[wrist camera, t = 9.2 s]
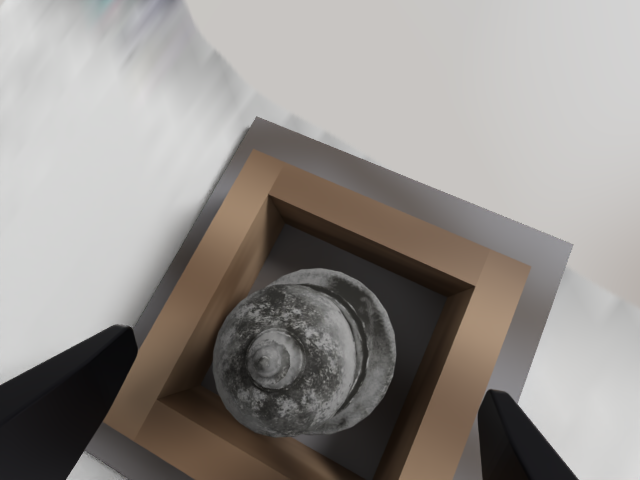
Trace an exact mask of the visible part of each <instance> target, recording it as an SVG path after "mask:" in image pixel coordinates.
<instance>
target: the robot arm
mask: <svg viewBox="0 0 640 480" xmlns="http://www.w3.org/2000/svg"><path fill="white" fill-rule="evenodd" d="M137 354H138V346H137V343H136V339H135V335H134V331H133V329H132V328H131V327H129V326H125V325H118V324H117V325H113V326H111V327H109V328H107V329H105V330H103V331H101V332H100V333H98V334H96V335H94V336H92V337H90V338H88V339H86V340H84V341H83V342H81V343H79V344H77V345H75V346H73V347H71V348H69V349H67V350H66V351H64V352H62V353H60V354H58V355H56V356H54V357H52V358H51V359H49V360H47V361H45V362H43V363H41V364H39V365H37V366H35V367H34V368H32V369H30V370H28V371H26V372H24V373H22V374H20V375H18V376H17V377H15V378H13V379H11V380H9V381H7V382H5V383H3V384H1V385H0V480H66V479H67V477H68V475H69V474H70V472H71V471H72V469H73V468H74V466H75V464H76V463H77V461H78V460H79V458H80V457H81V455H82V453H83V452H84V450H85V449H86V447H87V445H88V444H89V442H90V441H91V439H92V438H93V436H94V434H95V433H96V431H97V430H98V428H99V427H100V425H101V423H102V422H103V420H104V419H105V417H106V415H107V414H108V412H109V410H110V408H111V406H112V405H113V403H114V401H115V399H116V397H117V395H118V393H119V391H120V389H121V387H122V385H123V383H124V381H125V379H126V377H127V375H128V373H129V371H130V369H131V367H132V365H133V363H134V361H135V359H136V357H137ZM477 420H478V433H479V444H480V456H481V468H482V479H483V480H579V479H578V478H577V477H576V476H575V475H574V473H573V472H572V471H571V470H570V468H569V467H568V466H567V465H566V463H565V462H564V461H563V460H562V458H561V457H560V456H559V455H558V454H557V452H556V451H555V450H554V449H553V447H552V446H551V445H550V444H549V442H548V441H547V440H546V439H545V437H544V436H543V435H542V434H541V433H540V431H539V430H538V429H537V428H536V426H535V425H534V424H533V423H532V421H531V420H530V419H529V418H528V417H527V415H526V414H525V413H524V412H523V410H522V409H521V408H520V407H519V405H518V404H517V403H516V402H515V400H514V399H513V398H512V397H511V396H510V394H508V393H507V392H505V391H500V390H495V389H489V390H488V391H487V392H486V394H485V396H484V398H483V401H482V403H481V405H480V408H479V410H478V416H477Z"/></svg>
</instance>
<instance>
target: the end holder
mask: <svg viewBox="0 0 640 480" xmlns="http://www.w3.org/2000/svg"><path fill="white" fill-rule="evenodd" d="M572 247H573V244H571V243H568V242H566V241H563V240H561V239H558V238H556V237H554V236H551V235H549V234H546V233H544V232H541V231H539V230H536V229H534V228H531V227H529V226H527V225H524V224H522V223H519V222H516V221H514V220H511V219H509V218H507V217H504V216H502V215H499V214H497V213H494V212H492V211H489V210H487V209H484V208H482V207H479V206H477V205H475V204H472V203H470V202H467V201H465V200H462V199H460V198H457V197H455V196H452V195H450V194H447V193H445V192H442V191H440V190H437V189H435V188H432V187H430V186H427V185H425V184H422V183H420V182H418V181H415V180H413V179H410V178H408V177H405V176H403V175H400V174H398V173H395V172H393V171H390V170H388V169H385V168H383V167H381V166H378V165H376V164H373V163H371V162H368V161H366V160H363V159H361V158H358V157H356V156H353V155H351V154H348V153H346V152H343V151H341V150H338V149H336V148H333V147H331V146H329V145H326V144H324V143H321V142H319V141H316V140H314V139H311V138H309V137H306V136H304V135H301V134H299V133H296V132H294V131H291V130H289V129H286V128H284V127H282V126H279V125H277V124H274V123H272V122H269V121H267V120H264V119H262V118H259V117H257V116H256V118H255V120H254V122H253V123H252V125H251V127H250V128H249V130H248V132H247V134H246V135H245V137H244V139H243V141H242V142H241V144H240V146H239V147H238V149H237V151H236V153H235V154H234V156H233V158H232V160H231V161H230V163H229V165H228V166H227V168H226V170H225V172H224V173H223V175H222V177H221V179H220V180H219V182H218V184H217V186H216V187H215V189H214V191H213V192H212V194H211V196H210V198H209V199H208V201H207V203H206V205H205V206H204V208H203V210H202V211H201V213H200V215H199V217H198V218H197V220H196V222H195V224H194V225H193V227H192V229H191V231H190V232H189V234H188V236H187V237H186V239H185V241H184V243H183V244H182V246H181V248H180V250H179V251H178V253H177V255H176V256H175V258H174V260H173V262H172V263H171V265H170V267H169V269H168V270H167V272H166V274H165V275H164V277H163V279H162V281H161V282H160V284H159V286H158V288H157V289H156V291H155V293H154V295H153V296H152V298H151V300H150V301H149V303H148V305H147V307H146V308H145V310H144V312H143V314H142V315H141V317H140V319H139V320H138V322H137V324H136V326H135V327H134V329H133V331H134V335H135V339H136V343H137V346H138V354H137V357H136V359H135V361H134V363H133V365H132V367H131V369H130V371H129V373H128V375H127V377H126V379H125V381H124V383H123V385H122V387H121V389H120V391H119V393H118V395H117V397H116V399H115V401H114V403H113V405H112V406H111V408H110V410H109V412H108V414H107V415H106V417H105V419H104V420H103V422H102V423H101V425H100V427H99V428H98V430H97V431H96V433H95V434H94V436H93V438H92V439H91V441H90V442H89V444H88V445H87V447H86V449H85V450H86V451H87V452H89V453H90V454H92V455H93V456H95V457H96V458H98V459H99V460H101V461H102V462H104V463H105V464H107V465H109V466H110V467H112V468H113V469H115V470H116V471H118V472H119V473H121V474H122V475H124V476H125V477H127V478H129V479H130V480H483V479H482V468H481V456H480V444H479V433H478V420H477V416H478V410H479V408H480V405H481V403H482V401H483V398H484V396H485V394H486V392H487V391H488V390H489V389H495V390H500V391H505V392H507V393H508V394H510V396H511V397H512V398H513V399H514V400H515V402H516V403H517V404H518V401H519V398H520V395H521V392H522V389H523V386H524V384H525V381H526V378H527V375H528V372H529V369H530V367H531V364H532V361H533V358H534V355H535V352H536V349H537V347H538V344H539V341H540V338H541V335H542V332H543V330H544V327H545V324H546V321H547V318H548V315H549V313H550V310H551V307H552V304H553V301H554V298H555V295H556V293H557V290H558V287H559V284H560V281H561V278H562V276H563V273H564V270H565V267H566V264H567V261H568V258H569V255H570V253H571V250H572ZM315 268H323V269H328V270H333V271H339V272H342V273H344V274H346V275H348V276H350V277H352V278H354V279H356V280H358V281H360V282H361V283H362V284H363V285H364V286H366V287H367V288H368V289H369V290H370V291H371V292H373V293H374V294H375V295H376V297H377V298H378V300H379V301H380V303H381V304H382V306H383V307H384V308H385V310H386V311H387V314H388V316H389V319H390V322H391V324H392V327H393V330H394V334H395V344H396V354H397V355H396V361H395V367H394V374H393V378H392V380H391V382H390V385H389V387H388V389H387V391H386V394H385V396H384V398H383V399H382V400H381V401H380V403H379V404H378V405H377V406H376V407H375V409H374V410H373V411H372V412H371V414H370V415H368V416H367V417H366V418H364V419H363V420H361V421H360V422H358V423H357V424H355V425H354V426H353V427H351V428H348V429H345V430H342V431H339V432H336V433H333V434H330V435H305V434H302V435H299V436H296V437H277V438H273V437H270V436H266V435H262V434H258V433H255V432H253V431H252V430H250V429H249V428H247V427H245V426H244V425H242V424H240V423H239V422H238V421H237V420H236V419H235V418H234V416H233V415H232V414H231V413H230V412H229V411H228V410H227V409H226V407H225V405H224V403H223V401H222V399H221V397H220V395H219V393H218V391H217V388H216V383H215V379H214V374H213V351H214V347H215V343H216V339H217V336H218V332H219V330H220V328H221V327H222V325H223V323H224V321H225V319H226V317H227V316H228V314H229V313H230V312H231V311H232V310H233V309H234V308H235V307H236V306H237V304H238V303H239V302H240V301H242V300H243V299H245V298H246V297H248V296H249V295H251V294H252V293H254V292H255V291H257V290H260V289H263V288H265V287H266V286H268V285H269V284H271V283H272V282H274V281H275V280H277V279H278V278H280V277H281V276H283V275H286V274H289V273H292V272H295V271H298V270H301V269H315Z"/></svg>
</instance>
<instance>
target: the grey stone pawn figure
mask: <svg viewBox="0 0 640 480" xmlns="http://www.w3.org/2000/svg"><path fill="white" fill-rule="evenodd" d="M396 355H397V354H396V344H395V334H394V330H393V327H392V324H391V322H390V319H389V316H388V314H387V311H386V310H385V308H384V307H383V306H382V304H381V303H380V301H379V300H378V298H377V297H376V295H375V294H374V293H373V292H371V291H370V290H369V289H368V288H367V287H366V286H364V285H363V284H362V283H361V282H360V281H358V280H356V279H354V278H352V277H350V276H348V275H346V274H344V273H342V272H339V271H333V270H328V269H323V268H315V269H301V270H298V271H295V272H292V273H289V274H286V275H283V276H281V277H280V278H278V279H277V280H275V281H274V282H272V283H271V284H269V285H268V286H266V287H265V288H263V289H260V290H257V291H255V292H254V293H252V294H251V295H249V296H248V297H246V298H245V299H243V300H242V301H240V302H239V303H238V304H237V306H236V307H235V308H234V309H233V310H232V311H231V312H230V313H229V314H228V316H227V317H226V319H225V321H224V323H223V325H222V327H221V328H220V330H219V332H218V336H217V339H216V343H215V347H214V351H213V374H214V379H215V383H216V388H217V391H218V393H219V395H220V397H221V399H222V401H223V403H224V405H225V407H226V409H227V410H228V411H229V412H230V413H231V414H232V415H233V416H234V418H235V419H236V420H237V421H238V422H239V423H240V424H242V425H244V426H245V427H247V428H249V429H250V430H252V431H253V432H255V433H258V434H262V435H266V436H270V437H273V438H277V437H296V436H299V435H302V434H305V435H330V434H333V433H336V432H339V431H342V430H345V429H348V428H351V427H353V426H354V425H355V424H357V423H358V422H360V421H361V420H363V419H364V418H366V417H367V416H368V415H370V414H371V412H372V411H373V410H374V409H375V407H376V406H377V405H378V404H379V403H380V401H381V400H382V399H383V398H384V396H385V394H386V391H387V389H388V387H389V385H390V382H391V380H392V378H393V374H394V367H395V361H396Z"/></svg>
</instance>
